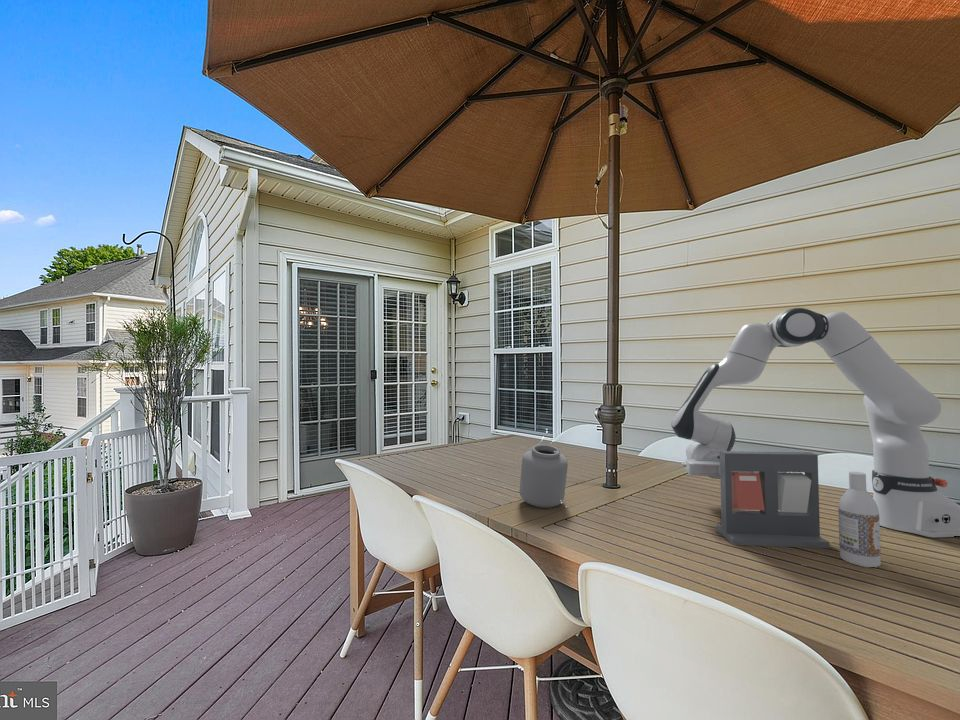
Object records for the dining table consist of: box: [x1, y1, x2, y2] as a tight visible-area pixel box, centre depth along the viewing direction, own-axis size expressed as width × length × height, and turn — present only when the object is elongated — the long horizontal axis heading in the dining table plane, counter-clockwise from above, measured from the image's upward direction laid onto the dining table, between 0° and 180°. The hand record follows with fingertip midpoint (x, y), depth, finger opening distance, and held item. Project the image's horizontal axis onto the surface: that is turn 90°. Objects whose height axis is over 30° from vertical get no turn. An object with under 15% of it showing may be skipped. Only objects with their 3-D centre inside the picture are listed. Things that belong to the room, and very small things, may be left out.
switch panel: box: [715, 450, 830, 549], centre depth 111 cm, size 22×10×22 cm, turn 82°
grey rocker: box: [777, 472, 811, 513], centre depth 110 cm, size 6×4×9 cm, turn 82°
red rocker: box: [731, 473, 764, 511], centre depth 112 cm, size 6×4×9 cm
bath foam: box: [837, 471, 882, 568], centre depth 98 cm, size 7×7×20 cm
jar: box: [519, 428, 569, 509], centre depth 141 cm, size 19×15×25 cm
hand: (735, 474), depth 118 cm, fingers closed
